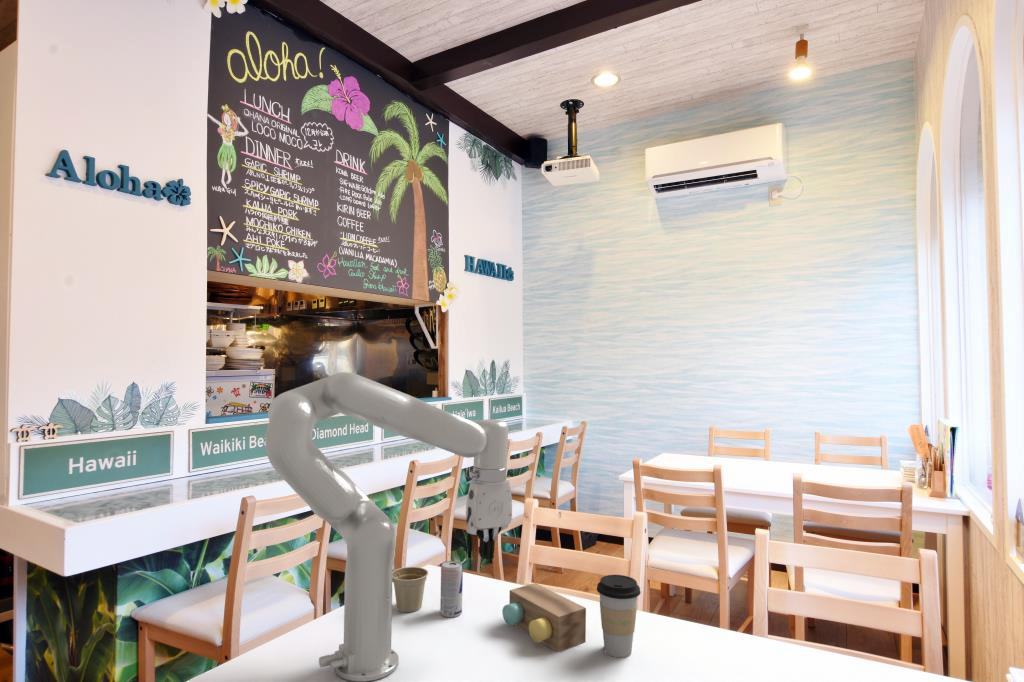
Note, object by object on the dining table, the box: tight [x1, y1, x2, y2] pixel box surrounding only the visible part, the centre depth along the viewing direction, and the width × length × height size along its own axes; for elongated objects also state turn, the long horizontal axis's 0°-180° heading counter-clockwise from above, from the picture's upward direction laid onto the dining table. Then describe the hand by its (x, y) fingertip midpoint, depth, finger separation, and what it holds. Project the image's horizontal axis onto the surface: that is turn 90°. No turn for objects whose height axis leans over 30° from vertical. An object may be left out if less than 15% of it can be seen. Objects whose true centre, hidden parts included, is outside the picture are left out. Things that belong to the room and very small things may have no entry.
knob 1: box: [501, 602, 524, 626], centre depth 142 cm, size 11×4×4 cm, turn 127°
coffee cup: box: [596, 574, 642, 658], centre depth 130 cm, size 9×9×15 cm
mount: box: [508, 582, 587, 653], centre depth 139 cm, size 8×18×8 cm, turn 37°
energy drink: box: [439, 560, 464, 619], centre depth 148 cm, size 5×5×12 cm
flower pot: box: [392, 566, 429, 613], centre depth 151 cm, size 9×9×9 cm
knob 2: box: [529, 617, 552, 643], centre depth 134 cm, size 11×4×4 cm, turn 127°
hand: (486, 557), depth 134 cm, fingers closed
